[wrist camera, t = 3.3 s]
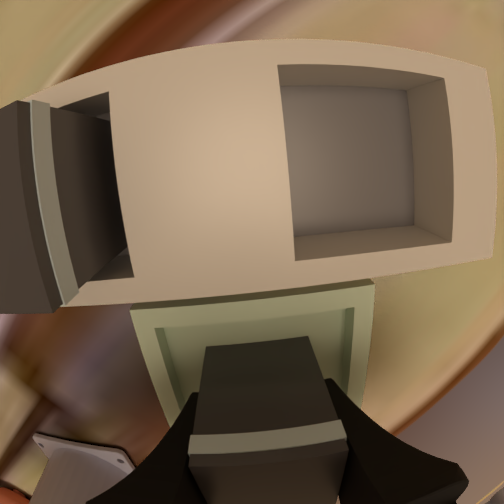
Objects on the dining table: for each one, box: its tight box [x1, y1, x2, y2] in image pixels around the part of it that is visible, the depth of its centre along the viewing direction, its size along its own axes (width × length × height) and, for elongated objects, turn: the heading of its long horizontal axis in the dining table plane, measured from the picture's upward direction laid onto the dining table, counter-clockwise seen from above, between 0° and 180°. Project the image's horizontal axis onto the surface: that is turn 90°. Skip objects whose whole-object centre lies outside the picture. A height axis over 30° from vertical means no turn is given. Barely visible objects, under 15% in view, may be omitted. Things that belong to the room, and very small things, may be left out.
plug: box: [188, 336, 349, 504], centre depth 10 cm, size 4×4×6 cm
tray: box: [130, 278, 375, 428], centre depth 13 cm, size 9×9×2 cm
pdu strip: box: [20, 39, 497, 307], centre depth 9 cm, size 7×20×3 cm, turn 96°
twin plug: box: [0, 100, 128, 314], centre depth 7 cm, size 4×4×6 cm
